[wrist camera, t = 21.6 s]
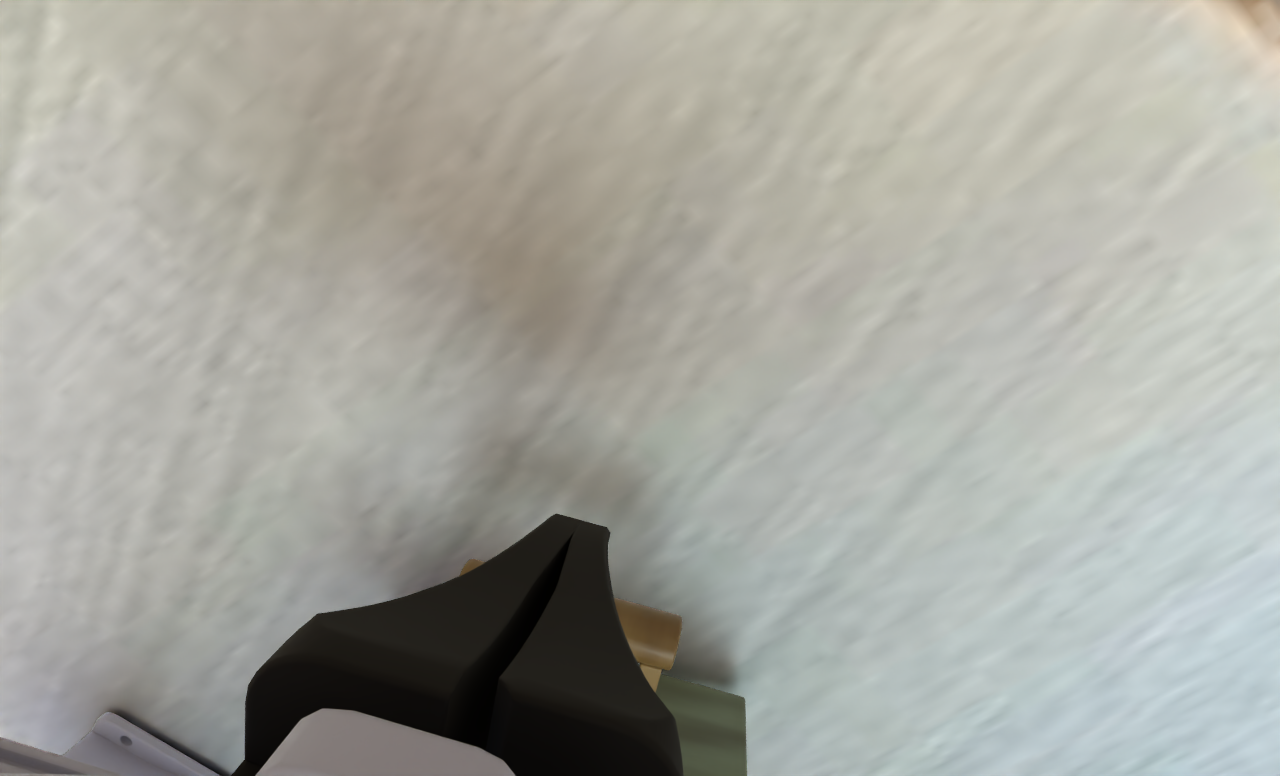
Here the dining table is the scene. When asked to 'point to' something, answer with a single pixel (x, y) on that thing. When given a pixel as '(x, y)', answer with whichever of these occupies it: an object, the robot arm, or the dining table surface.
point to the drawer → (683, 693)
